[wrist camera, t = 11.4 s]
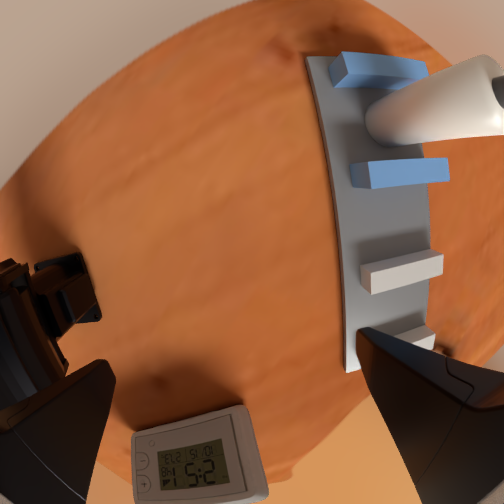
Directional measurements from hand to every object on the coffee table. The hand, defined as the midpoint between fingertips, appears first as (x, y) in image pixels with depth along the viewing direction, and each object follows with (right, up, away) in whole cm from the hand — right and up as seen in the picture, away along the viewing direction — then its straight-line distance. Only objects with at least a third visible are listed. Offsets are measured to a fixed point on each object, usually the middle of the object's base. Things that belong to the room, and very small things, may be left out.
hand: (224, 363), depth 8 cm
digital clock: (-6, -17, +18) cm, 25 cm away
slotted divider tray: (+12, +6, +12) cm, 18 cm away
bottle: (+12, +14, +10) cm, 20 cm away
